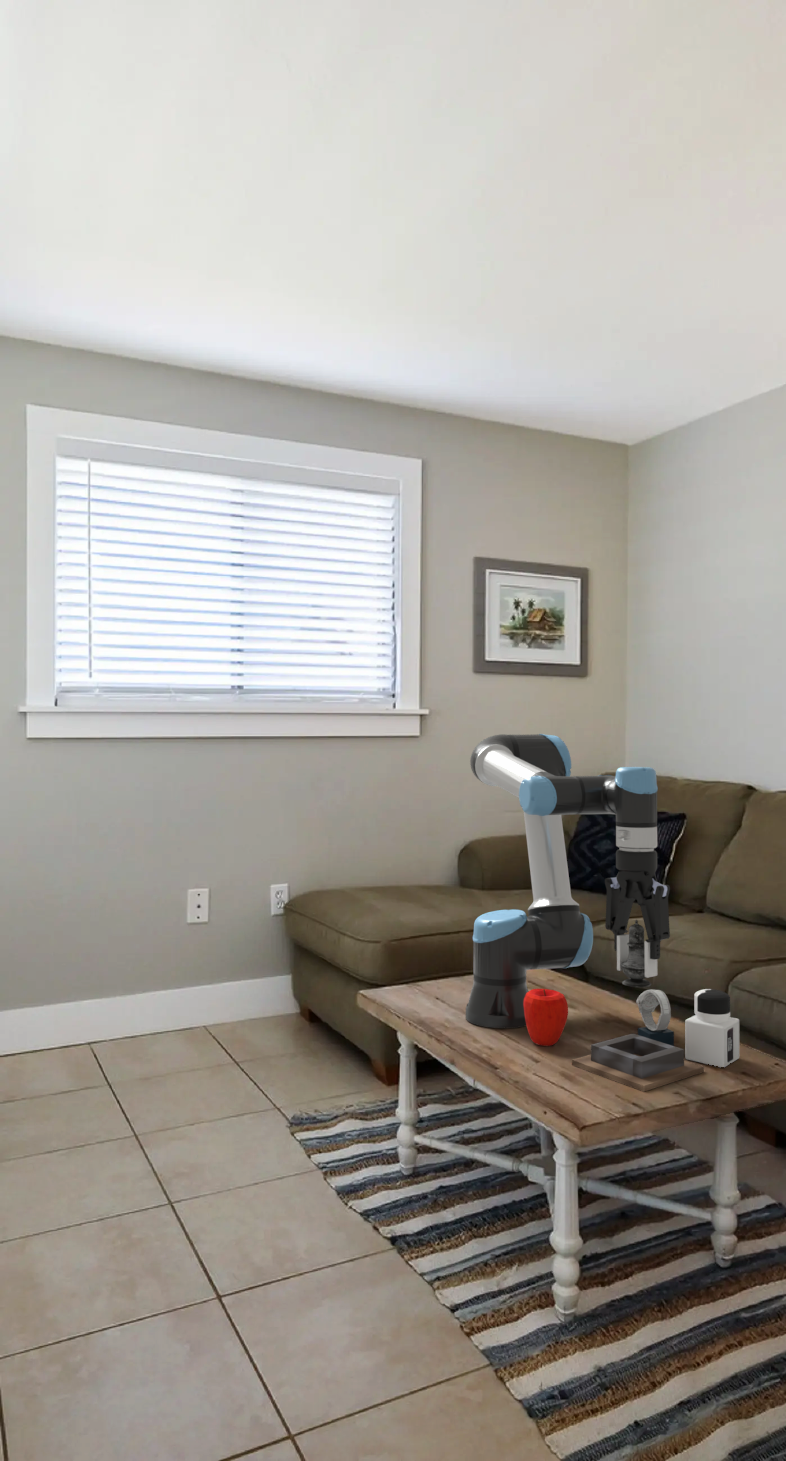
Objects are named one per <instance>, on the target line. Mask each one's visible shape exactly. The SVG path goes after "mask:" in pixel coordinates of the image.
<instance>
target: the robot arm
mask: <svg viewBox="0 0 786 1461" xmlns="http://www.w3.org/2000/svg"><path fill="white" fill-rule="evenodd" d="M469 759H470V761H469V762H470V763H469V764H470V769H471V772H472V773H473V775H474V777H476V779H477V780H479V781H480V782H482V783H483V784H485V785H487V786H489V787H490V786H491V787H498V788H500V789H502V790H504V791H506V792H507V793H509V794H511V795H513V796H514V797H516V798H518V799H519V805H520V807H521V808H522V810H523V819H524V828H525V836H526V845H527V854H528V862H529V870H530V872H529V873H530V882H531V890H532V891H531V892H532V898H533V902H532V903H531V904H530V906H529V907H528V908H527V913H526V912H525V911H524V910H521V909H515V908H513V909H500V910H499V909H498V910H493V911H489V912H485V913H483V914H481V915H479V916H477V918H476V919H475V920H474V923H473V935H472V941H473V942H472V943H473V944H472V945H473V948H472V949H473V983H472V987H471V991H470V994H469V999H468V1001H467V1003H466V1006H465V1019H466V1021H467V1022H469V1023H471V1024H472V1025H477V1026H478V1027H479V1026H480V1027H485V1028H486V1027H487V1028H493V1029H515V1028H521V1027H525V1026H526V1020H525V1014H524V1006H523V1003H524V998H525V995H526V993H527V992H529V989H528V986H527V971H529V970H545V969H548V970H549V969H567V968H568V969H569V968H573V967H580V966H582V965H583V964H585V963H586V961H588V959H589V958H590V957H589V956H590V955H591V952H592V948H593V943H594V930H593V924H592V922H591V919H590V918H589V916H588V915H587V914H585V913H583V912H581V910H580V903H578V902H577V901H575V900H574V899H573V897H572V893H571V891H572V890H571V884H570V877H569V868H568V866H569V865H568V861H567V860H568V859H567V851H566V843H565V836H564V835H565V834H564V828H563V820H562V815H564V816H565V815H567V816H569V815H615V846H616V847H617V850H616V851H615V867H616V869H617V870H618V873H616V874H617V875H616V876H615V877H607V878H605V879H604V884H605V889H606V900H605V902H606V904H605V907H606V908H605V925H604V926H605V929H606V930H607V931H611V932H612V934H613V937H614V939H613V941H614V943H613V944H614V946H613V948H614V951H615V952H616V971H620V972H621V971H623V970H622V966H621V963H622V962H625V961H626V960H627V959H628V955H629V946H628V945H627V943H628V942H629V930H627V928H628V924H629V920H630V916H631V912H632V909H633V903H634V902H635V901H637V905H638V906H639V907H640V910H641V915H642V919H643V923H644V929H645V932H646V936H647V939H645V940H644V945H645V977H647V978H646V979H648V978H652V977H656V976H658V960H659V959H660V957H661V942H662V941H663V940H667V939H670V938H671V933H670V931H671V930H670V913H669V912H670V911H669V894H670V891H671V887H670V885H669V884H662V883H660V882H658V879H657V876H656V871H657V869H658V852H657V851H656V850H655V849H656V848H657V847H658V826H657V824H658V790H659V789H658V784H657V772H656V770H655V768H653V767H650V766H646V767H645V766H620V767H618V768H617V769H616V771H615V775H611V774H598V775H573V776H572V775H571V774H572V772H571V769H572V759H571V754H570V751H569V749H568V746H567V744H566V743H565V742H564V740H562V739H561V737H559V736H557V735H554V734H552V735H551V734H544V733H539V734H538V733H537V734H494V735H491V736H488V737H486V738H484V739H483V740H481V741H480V742H478V743H477V745H476V746H475V747H474V748H473V750H472V753H471V755H470V758H469ZM618 848H619V849H618ZM527 914H528V916H527ZM526 1027H527V1026H526Z"/></svg>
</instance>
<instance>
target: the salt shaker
mask: <svg viewBox="0 0 786 1461" xmlns="http://www.w3.org/2000/svg"><path fill="white" fill-rule="evenodd" d="M628 934H629V942H628V943H627V945H628V946H629V955H628V959H627V960H626V961H625V962H622V963H621V966H622V970H621V971H622V972H623V974H624V975H625V976H626V977H627V978H626V979H624V980H623V981H622V982H621V983H622V985H624V986H626V987H631V988H647V987H648V988H649V987H650V986H651V985H652V983H651V982H650V981H649V980H648V978H647V977H645V945H644V941H645V927H643V926H642V925H640V924H639V920H638V919H635V920H634V924H631V925H630V926H629V928H628Z"/></svg>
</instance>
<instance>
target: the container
mask: <svg viewBox="0 0 786 1461" xmlns="http://www.w3.org/2000/svg"><path fill="white" fill-rule="evenodd" d="M693 1011H694V1012H693V1013H694V1014H695V1015H692V1016H691V1017H689V1018H687V1019H685V1021H684V1023H685V1024H684V1030H685V1031H684V1033H685V1034H684V1036H685V1037H684V1038H685V1039H684V1043H685V1045H684V1046H685V1047H684V1059H686V1061H691V1062H694V1063H695V1062H696V1063H699V1064H700V1063H701V1064H704V1065H708V1064H709V1065H708V1066H712V1065H714V1066H713V1067H716V1066H718V1067H717V1068H721V1067H724V1068H726V1067H727V1066H729V1065H731V1064H732V1063H733V1062H735V1061H737V1060H738V1059H740V1019H739V1018H736V1017H731V996H730V995H729V994H728V993H726V992H725V991H722V990H719V989H713V988H705V989H704V988H703V989H700V990H698V991H696V992H695V993H694V1010H693ZM730 1063H731V1064H730Z"/></svg>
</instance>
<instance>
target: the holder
mask: <svg viewBox="0 0 786 1461" xmlns="http://www.w3.org/2000/svg"><path fill="white" fill-rule="evenodd" d="M571 1065H572V1066H573V1067H576V1068H579V1069H582V1070H584V1071H586V1072H589V1073H592V1074H594V1075H597V1076H600V1077H604V1078H606V1079H608V1080H610V1081H615V1082H617V1083H619V1084H623V1085H624V1086H627V1087H631V1088H633V1089H636V1090H639V1091H641V1092H647V1091H650V1090H652V1089H656V1088H659V1087H662V1086H666V1085H668V1084H671V1083H672V1084H673V1083H675V1082H677V1081H680V1080H684V1079H687V1078H689V1077H692V1076H696V1075H699V1074H701V1072H702V1073H704V1072H705V1066H703V1065H701V1064H697V1063H695V1062H692V1061H691V1062H690V1061H689V1060H685V1048H681V1047H677V1046H675V1045H674V1046H672V1045H669V1044H665V1043H662V1042H659V1041H656V1040H652V1039H649V1038H646V1037H643V1036H640V1035H638V1034H636V1033H630V1034H626V1035H622V1036H619V1037H618V1036H617V1037H615V1038H611V1039H607V1040H603V1041H599V1042H596V1043H592V1044H590V1054H588V1055H584V1056H580V1057H577V1058H573V1059H572V1060H571ZM698 1073H699V1074H698Z"/></svg>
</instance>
